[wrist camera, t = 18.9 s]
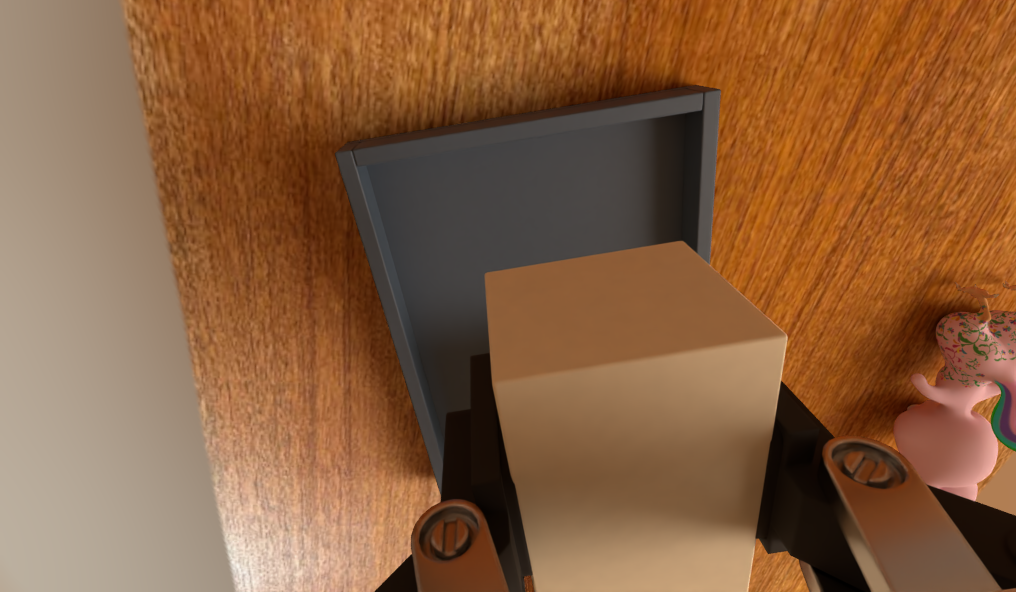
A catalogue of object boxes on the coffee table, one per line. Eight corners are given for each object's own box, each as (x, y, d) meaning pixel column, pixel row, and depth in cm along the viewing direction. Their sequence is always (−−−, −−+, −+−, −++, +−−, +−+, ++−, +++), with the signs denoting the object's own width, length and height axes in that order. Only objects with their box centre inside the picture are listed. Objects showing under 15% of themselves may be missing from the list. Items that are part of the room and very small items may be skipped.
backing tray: (446, 479, 26) (445, 510, 25) (346, 142, 18) (333, 152, 16) (681, 440, 26) (697, 468, 25) (696, 84, 18) (721, 88, 16)
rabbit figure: (896, 275, 24) (836, 514, 29) (1028, 317, 18) (926, 606, 23) (1011, 271, 24) (932, 507, 29) (1174, 310, 19) (1044, 596, 23)
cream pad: (524, 486, 14) (542, 636, 10) (483, 271, 11) (491, 383, 7) (676, 461, 14) (747, 603, 10) (683, 239, 11) (790, 334, 7)
